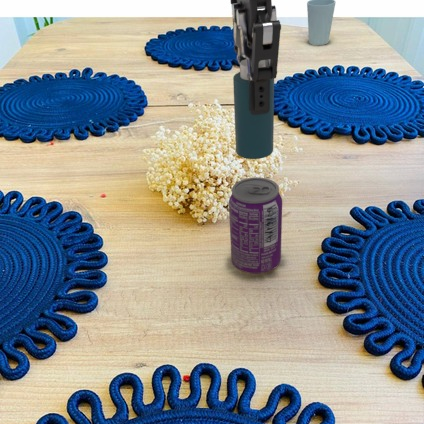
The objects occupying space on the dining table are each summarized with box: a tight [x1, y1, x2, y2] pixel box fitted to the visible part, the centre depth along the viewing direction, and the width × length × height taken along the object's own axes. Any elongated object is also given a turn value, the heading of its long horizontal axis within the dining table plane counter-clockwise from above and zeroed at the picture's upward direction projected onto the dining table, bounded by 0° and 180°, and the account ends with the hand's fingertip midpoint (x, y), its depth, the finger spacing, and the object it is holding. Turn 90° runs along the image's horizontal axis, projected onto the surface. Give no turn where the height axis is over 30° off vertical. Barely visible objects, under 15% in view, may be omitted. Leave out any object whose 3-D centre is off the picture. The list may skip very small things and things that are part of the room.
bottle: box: [232, 59, 275, 160], centre depth 62 cm, size 5×5×10 cm
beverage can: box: [228, 177, 283, 274], centre depth 73 cm, size 7×7×12 cm
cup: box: [306, 0, 336, 46], centre depth 149 cm, size 8×8×10 cm
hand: (254, 103), depth 62 cm, fingers closed on bottle, 4 cm apart
